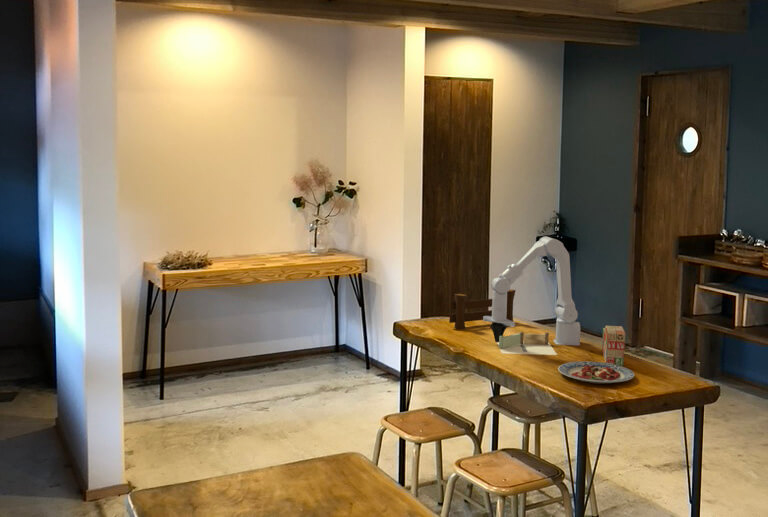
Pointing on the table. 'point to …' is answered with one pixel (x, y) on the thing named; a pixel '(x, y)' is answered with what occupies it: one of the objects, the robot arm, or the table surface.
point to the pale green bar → (509, 340)
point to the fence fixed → (534, 338)
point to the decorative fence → (462, 304)
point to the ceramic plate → (596, 372)
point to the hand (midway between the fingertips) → (498, 341)
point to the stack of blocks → (613, 345)
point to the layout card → (528, 349)
